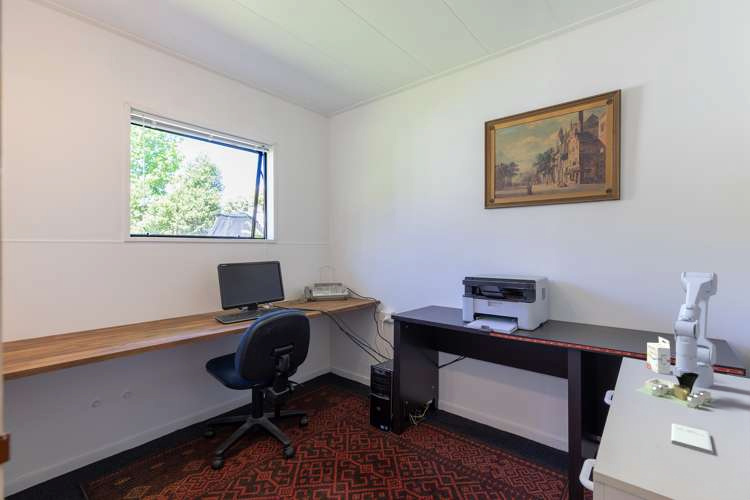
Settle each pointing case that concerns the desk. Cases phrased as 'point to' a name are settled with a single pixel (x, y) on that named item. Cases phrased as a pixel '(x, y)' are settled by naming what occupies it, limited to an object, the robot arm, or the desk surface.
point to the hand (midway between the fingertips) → (686, 393)
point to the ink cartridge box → (659, 356)
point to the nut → (680, 391)
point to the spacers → (691, 400)
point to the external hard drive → (691, 438)
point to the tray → (660, 381)
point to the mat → (670, 397)
